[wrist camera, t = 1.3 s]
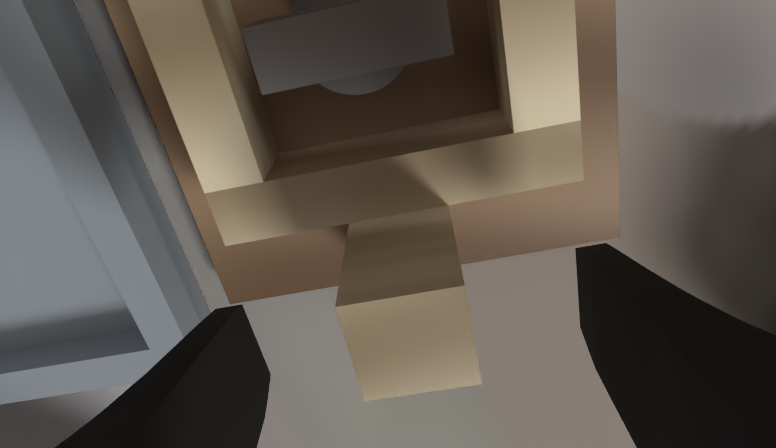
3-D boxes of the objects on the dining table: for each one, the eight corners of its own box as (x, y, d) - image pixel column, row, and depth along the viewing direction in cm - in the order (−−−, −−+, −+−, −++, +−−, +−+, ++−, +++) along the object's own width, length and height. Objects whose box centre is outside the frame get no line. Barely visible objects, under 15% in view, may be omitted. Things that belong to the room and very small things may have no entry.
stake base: (608, 221, 17) (684, 321, 12) (238, 286, 18) (187, 398, 14) (592, -278, 12) (717, -414, 7) (68, -136, 13) (-106, -176, 8)
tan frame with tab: (567, 231, 16) (642, 360, 11) (270, 283, 17) (219, 422, 12) (531, -274, 11) (644, -452, 6) (107, -159, 12) (-98, -230, 7)
